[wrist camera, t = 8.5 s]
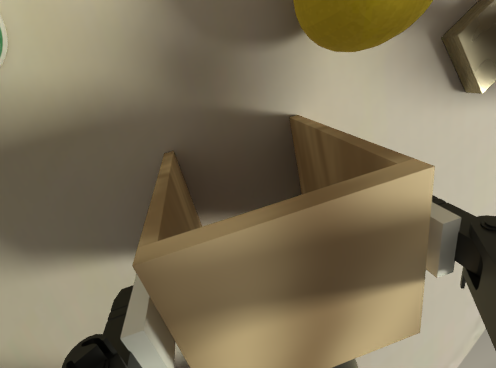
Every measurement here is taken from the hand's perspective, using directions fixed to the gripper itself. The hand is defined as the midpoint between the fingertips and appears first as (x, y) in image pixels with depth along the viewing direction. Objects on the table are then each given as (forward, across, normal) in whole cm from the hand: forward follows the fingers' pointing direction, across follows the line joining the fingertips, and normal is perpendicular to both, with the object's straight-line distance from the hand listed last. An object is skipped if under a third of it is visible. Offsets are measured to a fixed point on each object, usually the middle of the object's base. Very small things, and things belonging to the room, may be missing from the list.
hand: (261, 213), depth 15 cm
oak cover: (+4, 0, 0) cm, 4 cm away
